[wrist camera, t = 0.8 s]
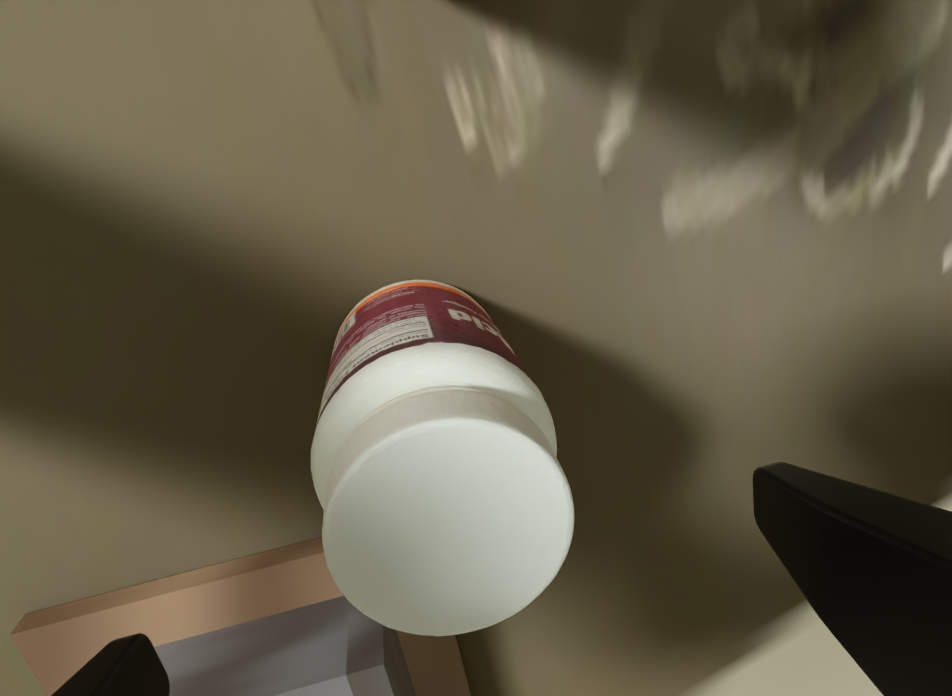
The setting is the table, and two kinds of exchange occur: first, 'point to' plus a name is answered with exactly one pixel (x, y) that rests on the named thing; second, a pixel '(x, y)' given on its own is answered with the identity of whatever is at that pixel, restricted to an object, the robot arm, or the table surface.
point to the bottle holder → (247, 634)
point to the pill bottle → (436, 466)
